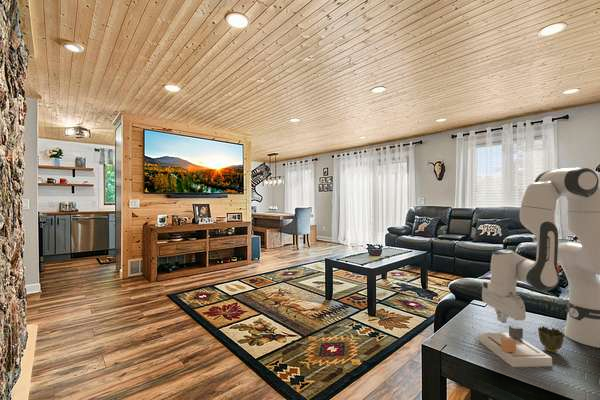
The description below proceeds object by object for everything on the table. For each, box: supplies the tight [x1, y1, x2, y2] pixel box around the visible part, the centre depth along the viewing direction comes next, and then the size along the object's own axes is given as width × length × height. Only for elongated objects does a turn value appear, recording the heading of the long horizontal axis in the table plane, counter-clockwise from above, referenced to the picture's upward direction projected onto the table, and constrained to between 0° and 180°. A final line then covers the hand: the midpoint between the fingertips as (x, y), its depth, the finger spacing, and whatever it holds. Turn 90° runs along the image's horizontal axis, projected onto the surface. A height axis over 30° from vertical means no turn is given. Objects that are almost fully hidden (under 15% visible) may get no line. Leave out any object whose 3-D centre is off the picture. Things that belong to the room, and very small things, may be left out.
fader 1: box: [501, 338, 516, 352], centre depth 102 cm, size 4×2×4 cm, turn 91°
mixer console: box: [478, 332, 553, 368], centre depth 107 cm, size 14×18×3 cm
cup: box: [537, 325, 565, 354], centre depth 107 cm, size 8×7×8 cm
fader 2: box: [508, 325, 524, 340], centre depth 112 cm, size 4×2×4 cm, turn 91°
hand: (501, 321), depth 118 cm, fingers closed
